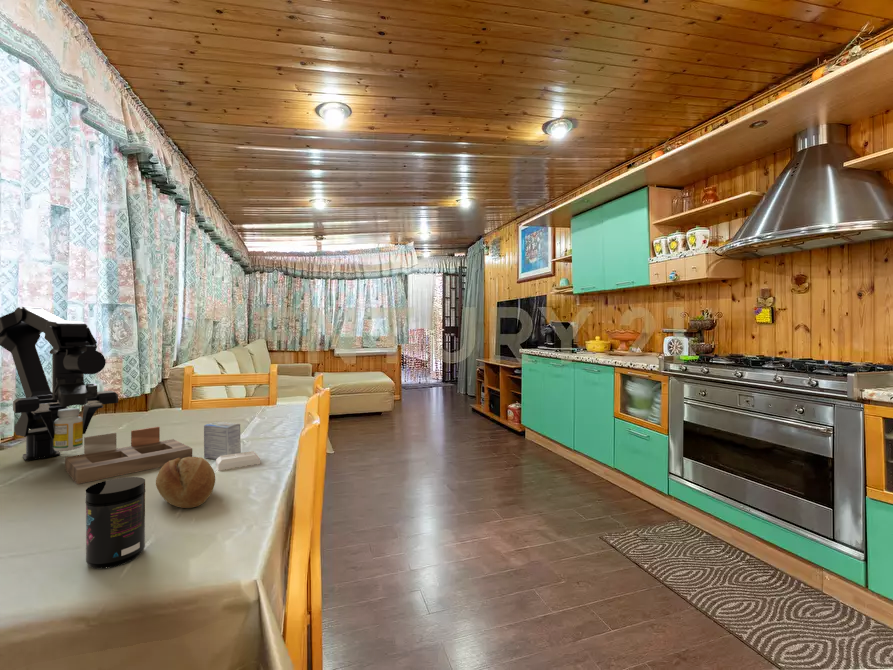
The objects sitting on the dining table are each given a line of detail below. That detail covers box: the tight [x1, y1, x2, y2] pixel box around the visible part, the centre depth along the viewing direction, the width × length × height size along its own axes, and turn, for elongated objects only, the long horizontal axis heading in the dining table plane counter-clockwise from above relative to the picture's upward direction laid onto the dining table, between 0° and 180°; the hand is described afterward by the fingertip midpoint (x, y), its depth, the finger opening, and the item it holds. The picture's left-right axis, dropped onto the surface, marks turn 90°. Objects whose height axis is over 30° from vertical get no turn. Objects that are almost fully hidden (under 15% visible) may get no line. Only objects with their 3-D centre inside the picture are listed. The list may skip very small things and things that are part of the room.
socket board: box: [64, 426, 193, 485], centre depth 102 cm, size 14×22×7 cm, turn 140°
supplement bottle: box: [53, 407, 84, 452], centre depth 103 cm, size 5×5×10 cm
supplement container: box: [85, 476, 146, 569], centre depth 60 cm, size 7×7×10 cm
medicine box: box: [203, 421, 242, 460], centre depth 108 cm, size 8×4×9 cm, turn 71°
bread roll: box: [155, 456, 216, 509], centre depth 81 cm, size 10×15×8 cm, turn 41°
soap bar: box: [215, 450, 261, 472], centre depth 102 cm, size 5×9×3 cm, turn 124°
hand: (68, 436), depth 103 cm, fingers closed on supplement bottle, 5 cm apart
